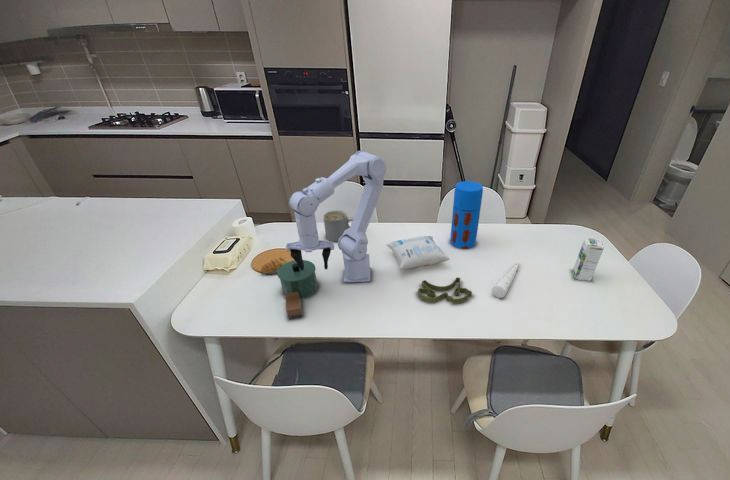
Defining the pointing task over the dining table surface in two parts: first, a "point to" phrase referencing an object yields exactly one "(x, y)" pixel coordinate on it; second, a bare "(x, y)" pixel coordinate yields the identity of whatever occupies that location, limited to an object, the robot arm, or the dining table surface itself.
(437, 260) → the pouch
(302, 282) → the pot
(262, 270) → the pastry
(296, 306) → the brown rectangular block
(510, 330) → the dining table surface
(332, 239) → the coffee mug
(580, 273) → the syrup box
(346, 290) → the dining table surface
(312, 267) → the pot lid
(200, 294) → the dining table surface
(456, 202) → the thermos
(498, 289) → the unicorn horn
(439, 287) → the cookie cutter
